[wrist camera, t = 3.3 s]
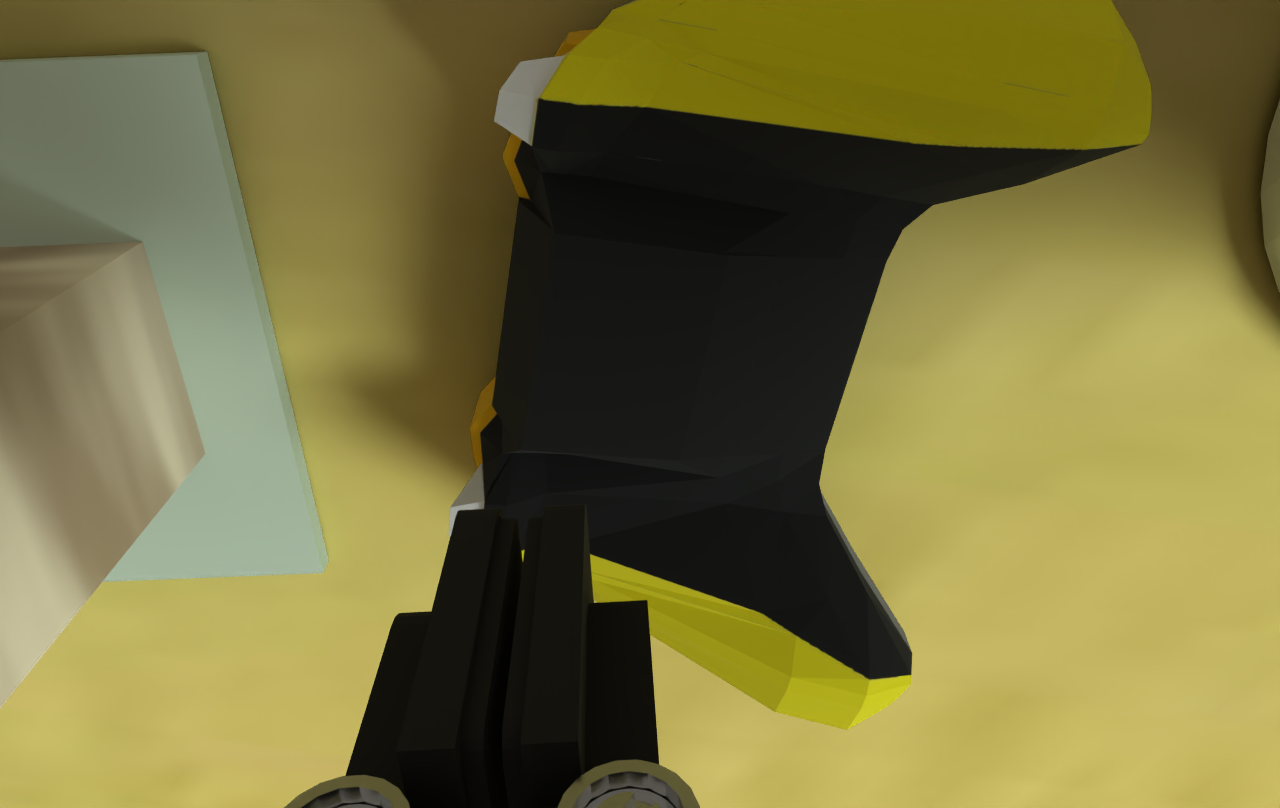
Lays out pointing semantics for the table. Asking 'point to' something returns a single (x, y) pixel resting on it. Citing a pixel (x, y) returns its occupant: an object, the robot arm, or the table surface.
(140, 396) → the birch pillar
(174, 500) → the sage mat
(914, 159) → the gaming controller
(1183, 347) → the table surface
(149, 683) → the table surface
